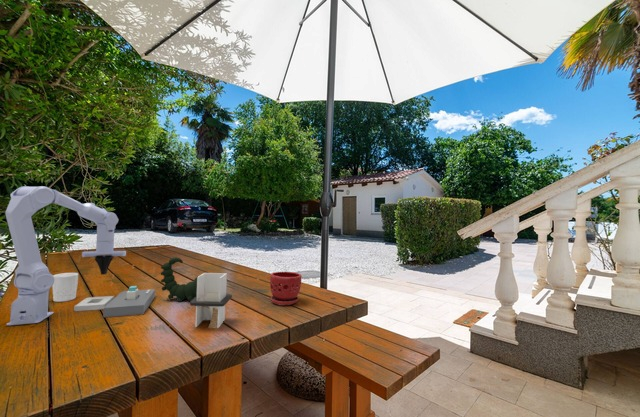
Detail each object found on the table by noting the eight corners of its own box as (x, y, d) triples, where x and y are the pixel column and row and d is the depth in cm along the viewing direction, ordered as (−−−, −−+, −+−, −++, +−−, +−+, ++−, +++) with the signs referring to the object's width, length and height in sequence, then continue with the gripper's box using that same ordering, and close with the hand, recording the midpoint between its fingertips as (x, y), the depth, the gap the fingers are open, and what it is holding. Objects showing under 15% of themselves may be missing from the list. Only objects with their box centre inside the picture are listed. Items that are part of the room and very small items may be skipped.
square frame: (104, 309, 105) (104, 304, 105) (74, 311, 102) (74, 306, 102) (113, 300, 115) (114, 295, 115) (86, 302, 112) (86, 297, 112)
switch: (143, 314, 101) (143, 304, 102) (103, 317, 97) (103, 307, 97) (155, 296, 122) (155, 288, 122) (122, 298, 118) (122, 290, 118)
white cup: (65, 302, 111) (66, 277, 111) (45, 302, 111) (46, 276, 111) (82, 296, 119) (83, 273, 119) (64, 296, 119) (65, 272, 119)
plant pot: (295, 308, 112) (296, 278, 113) (264, 305, 115) (265, 275, 115) (304, 299, 125) (304, 271, 125) (275, 296, 128) (276, 269, 128)
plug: (134, 307, 108) (135, 288, 108) (126, 308, 107) (127, 288, 107) (137, 304, 112) (138, 285, 112) (129, 304, 111) (130, 285, 111)
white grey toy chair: (152, 340, 82) (154, 283, 82) (187, 311, 106) (189, 267, 107) (239, 341, 83) (241, 285, 84) (254, 312, 107) (256, 269, 108)
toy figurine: (158, 307, 114) (220, 303, 114) (155, 260, 114) (217, 256, 115) (170, 299, 124) (227, 296, 124) (168, 256, 124) (225, 252, 124)
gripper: (128, 239, 123) (127, 271, 123) (87, 240, 118) (86, 272, 117) (123, 241, 116) (122, 274, 116) (80, 241, 111) (78, 276, 111)
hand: (103, 274), depth 116 cm, fingers closed
